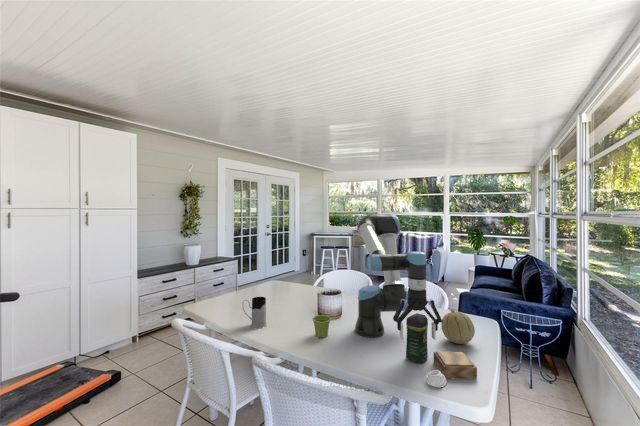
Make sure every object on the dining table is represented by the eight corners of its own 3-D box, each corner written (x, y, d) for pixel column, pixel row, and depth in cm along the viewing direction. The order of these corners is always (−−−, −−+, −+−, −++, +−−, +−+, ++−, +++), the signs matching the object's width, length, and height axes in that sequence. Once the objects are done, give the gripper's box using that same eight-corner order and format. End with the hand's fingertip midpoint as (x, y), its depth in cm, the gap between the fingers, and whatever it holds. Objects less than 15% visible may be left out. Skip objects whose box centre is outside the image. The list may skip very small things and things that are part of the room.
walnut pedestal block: (444, 378, 112) (444, 365, 112) (433, 362, 124) (433, 350, 124) (476, 379, 111) (476, 366, 111) (463, 363, 123) (463, 351, 123)
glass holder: (263, 329, 159) (263, 301, 159) (238, 327, 162) (238, 299, 162) (269, 323, 168) (269, 296, 168) (246, 321, 170) (246, 295, 170)
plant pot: (317, 340, 145) (317, 323, 144) (309, 333, 153) (309, 317, 153) (334, 337, 149) (334, 319, 149) (325, 330, 157) (325, 314, 157)
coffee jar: (421, 366, 121) (421, 320, 121) (403, 359, 126) (403, 316, 126) (430, 357, 128) (430, 314, 128) (412, 351, 133) (412, 310, 133)
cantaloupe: (473, 352, 132) (473, 318, 132) (438, 344, 140) (438, 313, 140) (476, 340, 145) (476, 309, 145) (444, 333, 153) (444, 304, 153)
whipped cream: (440, 394, 104) (441, 381, 103) (421, 385, 108) (422, 372, 107) (448, 383, 110) (449, 370, 109) (430, 374, 114) (431, 362, 113)
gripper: (389, 290, 124) (389, 341, 123) (450, 290, 122) (450, 342, 122) (386, 286, 131) (386, 334, 131) (443, 286, 130) (443, 335, 130)
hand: (417, 338), depth 126 cm, fingers open, 13 cm apart
